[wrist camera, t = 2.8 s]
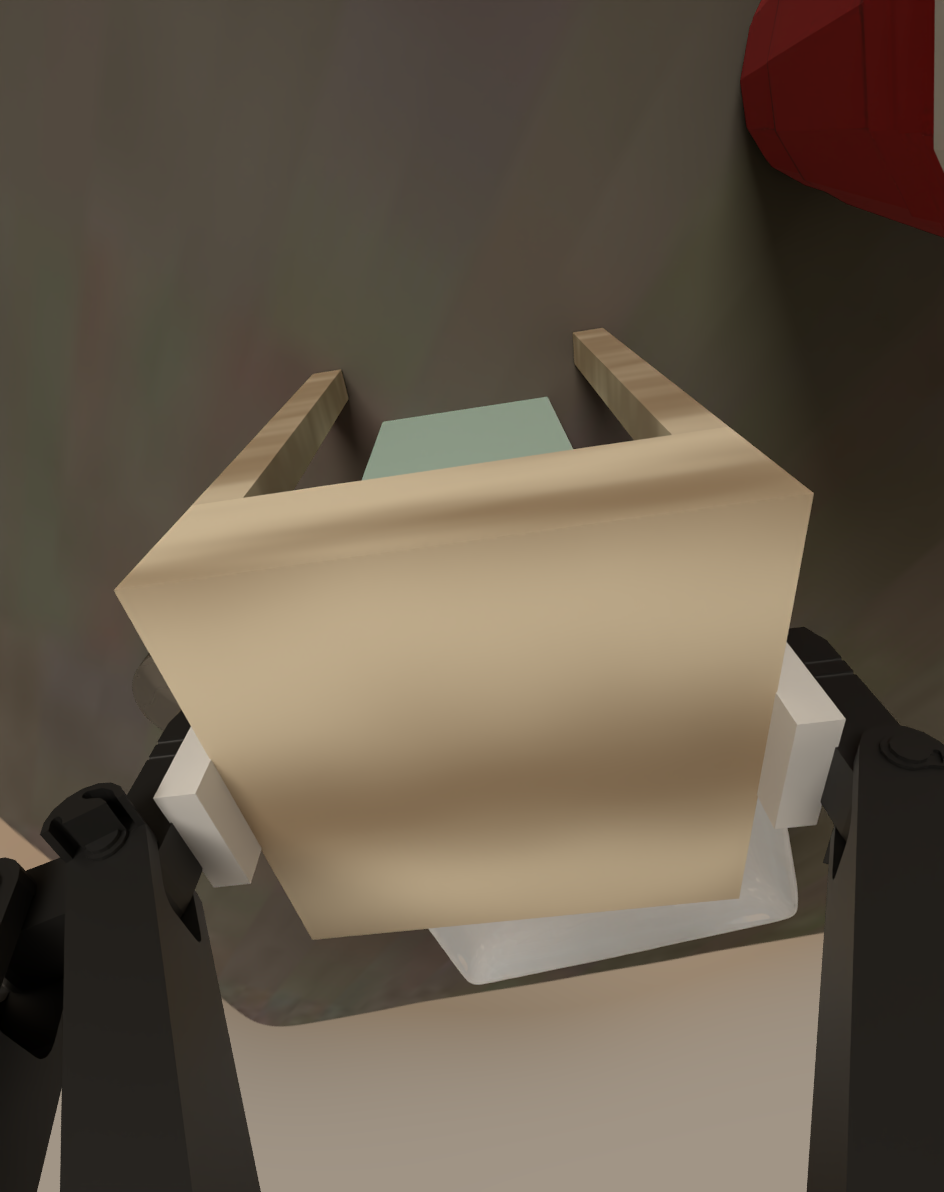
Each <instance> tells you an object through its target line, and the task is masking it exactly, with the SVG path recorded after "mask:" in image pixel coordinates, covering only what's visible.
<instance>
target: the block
mask: <svg viewBox="0 0 944 1192" xmlns="http://www.w3.org/2000/svg"><path fill="white" fill-rule="evenodd" d="M566 450H573V448H572V446H571V444H570V442H569V440H568V438H567V436H566V434H565V432H564V430H563V428H562V426H561V424H560V422H559V419H558V417H557V415H556V413H555V411H554V409H553V407H552V405H551V403H550V401H549V399H548V397H543V398H536V399H530V400H523V401H517V402H510V403H504V404H497V405H491V406H484V407H477V408H471V409H464V410H458V411H451V412H445V413H438V414H432V415H425V416H419V417H412V418H406V419H399V420H393V421H386V422H383V423H382V426H381V428H380V431H379V434H378V437H377V439H376V442H375V445H374V448H373V450H372V453H371V456H370V459H369V461H368V464H367V467H366V470H365V472H364V475H363V478H362V480H369V479H375V478H382V477H389V476H396V475H403V474H409V473H416V472H423V471H430V470H437V469H443V468H450V467H457V466H464V465H471V464H477V463H484V462H491V461H498V460H505V459H512V458H518V457H525V456H532V455H539V454H546V453H552V452H559V451H566Z"/></svg>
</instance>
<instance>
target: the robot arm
mask: <svg viewBox="0 0 944 1192" xmlns="http://www.w3.org/2000/svg"><path fill="white" fill-rule="evenodd" d="M149 757H150V759H149V760H147V761H146V763H145V765H144V767H143V768H142V770H141V772H140V774H139V775H138V777H137V779H136V781H135V782H134V784H133V786H132V788H131V789H130V791H129V793H128V795H126V794H125V792H124V791H123V790H122V788H121V787H120V786H118V785H116V784H113V783H98V784H95V785H92V786H89V787H86V788H83V789H81V790H80V791H78V792H76V793H75V794H73V795H71V796H70V797H68V798H66V799H65V800H64V801H63V802H62V803H61V804H60V805H58V806H57V807H56V808H55V809H54V810H53V811H52V812H51V814H50V815H49V816H48V818H47V819H46V821H45V822H44V824H43V827H42V830H41V833H40V835H41V836H42V837H43V838H44V839H45V841H46V842H47V843H48V844H49V845H50V846H51V847H52V848H53V850H54V851H55V852H56V853H57V854H58V855H59V856H60V857H61V858H58V859H56V860H53V861H50V862H48V863H45V864H43V865H40V866H37V867H35V868H32V869H29V870H27V871H25V870H24V869H23V868H22V867H21V866H20V865H19V864H18V863H17V862H16V861H15V860H13V859H9V858H0V1192H37V1188H38V1185H39V1181H40V1176H41V1172H42V1168H43V1164H44V1159H45V1155H46V1151H47V1147H48V1143H49V1138H50V1134H51V1130H52V1126H53V1122H54V1117H55V1113H56V1109H57V1105H58V1101H59V1096H60V1092H61V1088H62V1110H61V1169H60V1170H61V1171H60V1192H261V1191H260V1186H259V1181H258V1176H257V1171H256V1166H255V1161H254V1156H253V1151H252V1146H251V1142H250V1137H249V1132H248V1127H247V1122H246V1118H245V1112H244V1108H243V1103H242V1098H241V1092H240V1088H239V1083H238V1078H237V1073H236V1068H235V1063H234V1058H233V1053H232V1048H231V1043H230V1038H229V1034H228V1029H227V1024H226V1019H225V1015H224V1009H223V1004H222V999H221V994H220V989H219V984H218V980H217V975H216V970H215V965H214V960H213V955H212V950H211V945H210V940H209V935H208V930H207V926H206V921H205V916H204V911H203V906H202V902H201V900H200V898H199V896H198V894H197V893H196V891H195V888H196V885H197V883H198V880H199V878H200V875H201V873H202V871H203V873H204V874H205V876H206V877H207V878H208V880H209V881H210V883H211V884H212V886H213V887H223V886H232V885H242V884H251V881H252V878H253V875H254V871H255V868H256V865H257V862H258V859H259V855H260V852H261V849H262V848H261V846H260V845H259V843H258V841H257V839H256V838H255V836H254V834H253V832H252V831H251V829H250V827H249V825H248V823H247V822H246V820H245V818H244V816H243V815H242V813H241V811H240V809H239V808H238V806H237V804H236V802H235V801H234V799H233V797H232V795H231V793H230V792H229V790H228V788H227V786H226V785H225V783H224V781H223V779H222V778H221V776H220V774H219V772H218V771H217V769H216V767H215V765H214V764H213V762H212V760H211V759H209V757H208V755H207V753H206V752H205V750H204V748H203V746H202V745H201V743H200V741H199V739H198V738H197V736H196V734H195V732H194V731H193V729H192V727H191V725H190V724H189V722H188V720H187V718H186V716H185V715H184V713H183V711H182V710H181V711H180V712H179V713H178V714H177V715H176V716H175V717H174V718H173V719H172V720H171V721H170V722H169V723H168V725H167V726H166V728H165V730H164V732H163V733H162V735H161V737H160V739H159V740H158V745H156V746H155V747H154V749H153V751H152V753H151V754H150V756H149ZM757 796H758V798H759V800H760V802H761V804H762V806H763V808H764V810H765V812H766V814H767V816H768V818H769V820H770V822H771V824H772V826H773V827H774V829H782V828H791V827H801V826H811V825H816V824H817V821H818V817H819V814H820V810H821V807H822V805H823V807H824V808H825V810H826V812H827V813H828V815H829V816H830V818H831V820H832V821H833V823H834V828H833V831H832V835H831V838H830V841H829V844H828V848H827V851H826V854H825V858H824V861H823V863H826V864H829V869H828V883H827V898H826V913H825V928H824V943H823V958H822V972H821V973H822V974H821V987H820V1002H819V1017H818V1032H817V1047H816V1048H817V1049H816V1062H815V1078H814V1092H813V1106H812V1121H811V1136H810V1151H809V1166H808V1180H807V1192H944V745H943V744H942V743H941V742H940V741H938V740H936V739H934V738H933V737H931V736H929V735H927V734H926V733H924V732H921V731H918V730H915V729H912V728H909V727H906V726H900V725H899V724H898V722H897V721H896V720H895V719H894V718H893V717H892V715H891V714H890V713H889V712H888V711H887V710H886V708H885V707H884V706H883V705H882V704H881V703H880V702H879V700H878V699H877V698H876V697H875V696H874V695H873V693H872V692H871V691H870V690H869V689H868V688H867V686H866V685H865V684H864V683H863V682H862V681H861V680H860V678H859V677H858V676H857V675H854V674H853V670H852V669H851V668H850V667H849V666H848V665H847V663H846V662H845V661H842V660H841V656H840V655H839V654H838V653H837V652H836V651H835V649H834V648H833V647H832V646H831V645H830V644H829V643H828V641H827V640H825V639H823V638H822V637H820V636H818V635H817V634H815V633H813V632H812V631H810V630H808V629H807V628H805V627H800V628H792V629H789V631H788V636H787V641H786V647H785V652H784V658H783V663H782V669H781V674H780V679H779V685H778V690H777V692H776V694H775V699H774V705H773V710H772V716H771V721H770V727H769V732H768V738H767V743H766V749H765V754H764V760H763V765H762V770H761V776H760V781H759V787H758V792H757Z"/></svg>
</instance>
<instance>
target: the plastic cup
mask: <svg viewBox="0 0 944 1192" xmlns="http://www.w3.org/2000/svg"><path fill="white" fill-rule="evenodd" d="M740 83H741V90H742V98H743V105H744V112H745V119H746V126H747V129H748V131H749V132H750V134H751V136H752V137H753V139H754V141H755V142H756V144H757V145H758V147H759V149H760V150H761V152H762V154H763V155H764V157H765V159H766V160H767V161H768V162H769V163H770V165H771V167H773V168H775V169H777V170H779V171H780V172H782V173H784V174H786V175H788V176H789V177H791V178H793V179H795V180H797V181H798V182H800V183H802V184H804V185H806V186H809V187H812V188H816V189H819V190H822V191H824V192H826V193H828V194H830V195H832V196H833V197H835V198H837V199H839V200H841V201H842V202H844V203H846V204H849V205H851V206H854V207H857V208H860V209H863V210H866V211H869V212H872V213H874V214H877V215H880V216H883V217H886V218H889V219H892V220H895V221H897V222H900V223H903V224H906V225H909V226H912V227H915V228H918V229H920V230H923V231H926V232H929V233H932V234H935V235H938V236H941V237H943V238H944V0H761V2H760V4H759V6H758V8H757V10H756V13H755V15H754V17H753V21H752V23H751V25H750V28H749V34H748V40H747V45H746V51H745V57H744V62H743V68H742V74H741V80H740Z"/></svg>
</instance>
